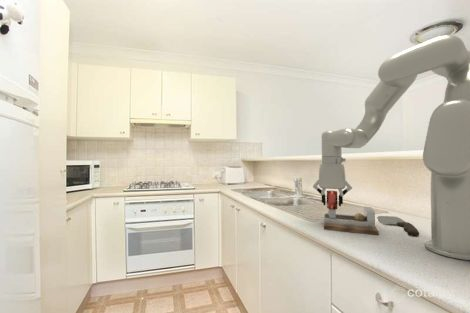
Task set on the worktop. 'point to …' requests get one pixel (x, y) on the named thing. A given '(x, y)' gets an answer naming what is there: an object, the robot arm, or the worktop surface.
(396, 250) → the worktop surface
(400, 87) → the robot arm
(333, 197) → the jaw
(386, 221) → the cleaver
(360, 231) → the press base
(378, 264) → the worktop surface
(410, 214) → the worktop surface
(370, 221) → the press frame
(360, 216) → the walnut
